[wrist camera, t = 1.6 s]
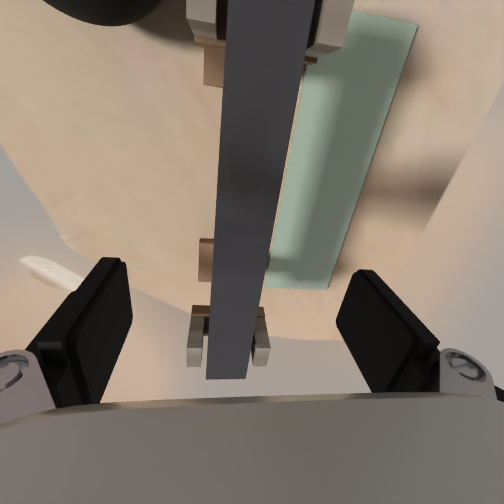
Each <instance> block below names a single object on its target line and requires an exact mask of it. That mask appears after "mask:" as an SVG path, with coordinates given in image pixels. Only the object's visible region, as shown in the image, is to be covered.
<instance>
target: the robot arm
mask: <svg viewBox="0 0 504 504" xmlns="http://www.w3.org/2000/svg"><path fill="white" fill-rule="evenodd" d="M132 319H133V314H132V306H131V299H130V291H129V283H128V276H127V268H126V263H125V262H121V260H120V258H112V257H102V258H101V259H100V260H99V261H98V263H97V264H96V265H95V267H94V268H93V269H92V271H91V272H90V273H89V274H88V276H87V277H86V278H85V279H84V281H83V282H82V283H81V285H80V286H79V287H78V288H77V290H76V291H73V292H71V293H70V294H69V295H68V296H67V298H66V299H65V300H64V302H63V303H62V304H61V305H60V307H59V308H58V309H57V310H56V312H55V313H54V314H53V315H52V317H51V318H50V319H49V320H48V322H47V323H46V324H45V325H44V327H43V328H42V329H41V330H40V331H39V333H38V334H37V335H36V336H35V338H34V339H33V340H32V341H31V343H30V344H29V345H28V347H27V348H26V349H25V350H12V351H6V352H3V353H0V504H504V390H502V389H500V388H498V387H496V386H494V383H493V379H492V376H491V374H490V372H489V371H488V370H487V369H486V367H485V366H483V365H482V364H481V363H480V362H479V361H478V360H476V359H475V358H473V357H472V356H470V355H468V354H466V353H464V352H462V351H459V350H456V349H451V348H447V349H443V350H442V351H441V352H440V351H439V350H438V349H437V346H438V345H439V343H440V341H439V340H438V339H437V338H436V337H435V336H434V335H433V334H432V333H431V332H430V331H429V329H427V327H426V326H425V325H424V324H423V323H422V322H421V321H420V320H419V319H418V318H417V317H416V315H415V314H413V312H412V311H411V310H410V309H409V308H408V307H407V306H406V305H405V304H404V303H403V302H402V300H401V299H399V297H398V296H397V295H396V294H395V293H394V292H393V291H392V290H391V289H390V288H389V287H388V285H387V284H386V283H385V282H384V281H383V280H382V279H381V278H380V277H379V276H378V275H377V274H376V273H375V272H374V271H373V270H362V269H360V270H358V271H357V272H355V273H354V274H353V275H352V278H351V280H350V283H349V286H348V288H347V291H346V294H345V296H344V299H343V302H342V304H341V307H340V310H339V312H338V315H337V318H336V325H337V328H338V330H339V332H340V333H341V335H342V337H343V339H344V341H345V343H346V345H347V347H348V348H349V350H350V352H351V354H352V356H353V358H354V360H355V362H356V363H357V365H358V367H359V369H360V371H361V373H362V375H363V377H364V379H365V381H366V382H367V384H368V386H369V388H370V390H371V392H372V393H350V394H316V395H283V396H253V397H225V398H201V399H200V398H198V399H175V400H173V399H172V400H151V401H133V402H132V401H131V402H114V403H100V401H101V399H102V396H103V394H104V391H105V389H106V386H107V384H108V381H109V379H110V376H111V374H112V371H113V369H114V366H115V364H116V361H117V359H118V356H119V354H120V352H121V349H122V347H123V344H124V342H125V339H126V337H127V334H128V332H129V329H130V327H131V324H132Z"/></svg>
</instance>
